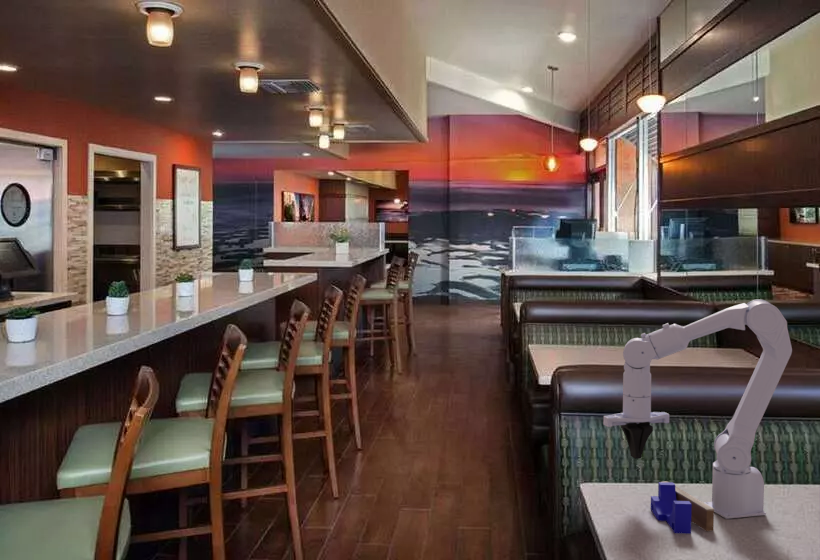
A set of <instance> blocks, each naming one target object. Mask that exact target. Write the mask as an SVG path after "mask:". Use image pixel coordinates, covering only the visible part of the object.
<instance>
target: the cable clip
mask: <svg viewBox="0 0 820 560" xmlns="http://www.w3.org/2000/svg"><path fill="white" fill-rule="evenodd" d="M657 485H658V488H657V496H655V495H653V496H652V495H651V496H650V511H651V512H652V513H653V515H654V517H655V518H656V520H657V521H659V522H660V521H661V522H666V523H667V524H668V526H669V527H670V528H671V530H672V532H673V533H674V534H686V535H687V534H692V522H691V508H692V504H691V503H690V502H689V501H677V500H676V492H675V486H676V484H675V483H674V482H673V481H672V482H671V481H670V482H669V481H668V482H664V481H660V482H657Z"/></svg>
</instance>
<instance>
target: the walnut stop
mask: <svg viewBox="0 0 820 560" xmlns="http://www.w3.org/2000/svg"><path fill="white" fill-rule="evenodd" d="M663 482H669V481H668V480H666V481H663ZM675 492H676V500H677V501H689V502H690V503H691V504H692V508H691V523H693V524H695V525H696V526H698V527H700V528H701V529H702V530H703V531H706V532H712V531H714V521H715V520H714V519H715V518H714V517H715V516H714V514H715V512H714V509H713V508H712V507H710V506H708V505H707V504H705V503H704V502H703V501H701V500H699V498H697V497H695V496H693V495H691V494H690V493H688V492H687V491H684V490H683V489H681V488H679V487H677V486H676V485H675Z"/></svg>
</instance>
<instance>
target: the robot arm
mask: <svg viewBox="0 0 820 560" xmlns="http://www.w3.org/2000/svg"><path fill="white" fill-rule="evenodd" d="M746 326H747V327H748V328H749V330H751V331H752V332H753V333H754V334H755V336H756V338H757V340H758V342H759V344H760V345H761V348H762V352H761V354H760V358H759V359H758V361H757V363H756V365H755V368H754V370H753V373H752V375H751V376H750V379H749V381H748V383H747V385H746V388H745V390H744V392H743V395H742V397H741V399H740V401H739V403H738V405H737V407H736V409H735V412H734V413H733V415H732V418H731V419H730V420H729V422H728V423H727V425H726V426H725V429H724V430H723V431H722V432H720V433H719V434H718V435H717V436H716V437H715V439H714V441H713V442H714V443H713V447H714V451H715V453H716V460H715V461H714V462H712V477H711V478H712V479H711V480H712V481H711V482H712V488H711V491H712V492H711V501H706V502H705V501H704V502H703V503H705V504H707V505H708V506H710V507H712V508H713V509H714V513H715V514H716V515H717V514H718V515H719V516H721V517H723V518H724V519H727V520H728V519H739V518H746V517H747V518H748V517H749V518H750V517H756V516H757V517H759V516H766V515H767V512H766V511H764V505H765V502H764V499H765V481H764V478H763V474H762V473H761V472H760V471H759V469H758V468H757V467H754V466H750V465H751V462H752V454H751V453H752V452H751V451H752V448H753V446H754V443H755V437H756V432H757V429H758V427H759V425H760V423H761V421H762V419H763V416H764V414H765V412H766V410H767V408H768V406H769V404H770V401H771V399H772V398H773V395H774V393H775V391H776V389H777V386H778V384H779V381H780V380H781V378H782V376H783V373H784V371H785V368H786V367H787V364H788V362H789V360H790V358H791V356H792V353H793V348H792V343H791V338H790V334H789V330H788V321H787V320H786V318H785V317H784V315H783V313H782V311H780V310H779V308H778V307H777V306H775V305H773V304H772V303H771V302H769V301H768V300H765V299H759V298H758V299H752V300H751V301H748V302H747V303H745V302H743V303H739V304H735V305H733V306H730V307H727V308H724V309H722V310H719V311H717V312H714V313H713V314H709V315H708V316H705V317H703V318H701V319H699V320H698V319H697V320H696V321H694V322H691V323H689V324H687V325H684V326H683V325H679V324H677V323H673V324H669V322H667V323H665V324H662V327H661V328H659V329H657V330H655V331H652V332H649V333H647V334H646V332H643V333H641V334H640V337H634V338H631V339H630V340H628V341H627V342H626V344H625V346H624V348H623V352H622V356H623V359H624V365H623V370H624V372H623V375H622V379H623V380H622V381H623V382H622V412H620V413H614V414H609V415H603V424H602V425H603V426H605V427H608V428H609V427H610V428H611V427H616V426H619V427H620V428H621V430H622V432H623V434H624V436H625V439H626V441H627V445H628V448H629V453H630V457H632V458H633V459H635V460H637V459H642V455H643V452H644V449H645V446H646V443H647V441H648V439H649V437H651V435H652V433H653V430H654V426H653V425H651V424H658V423H664V424H669V423H670V414H669V413H667V412H665V411H661V412H660V411H652V373H651V362H652V360H660V359H662V358H665V357H669V356H671V355H674V354H676V353H679V352H682V351H684V350H686V349H687V348H688V346H689V343H690V342H691V341H693V340H695V339H698V338H702V337H706V336H708V335H711V334H714V333H716V332H719V331H723V330H725V329H735V330H741V331H746Z"/></svg>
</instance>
